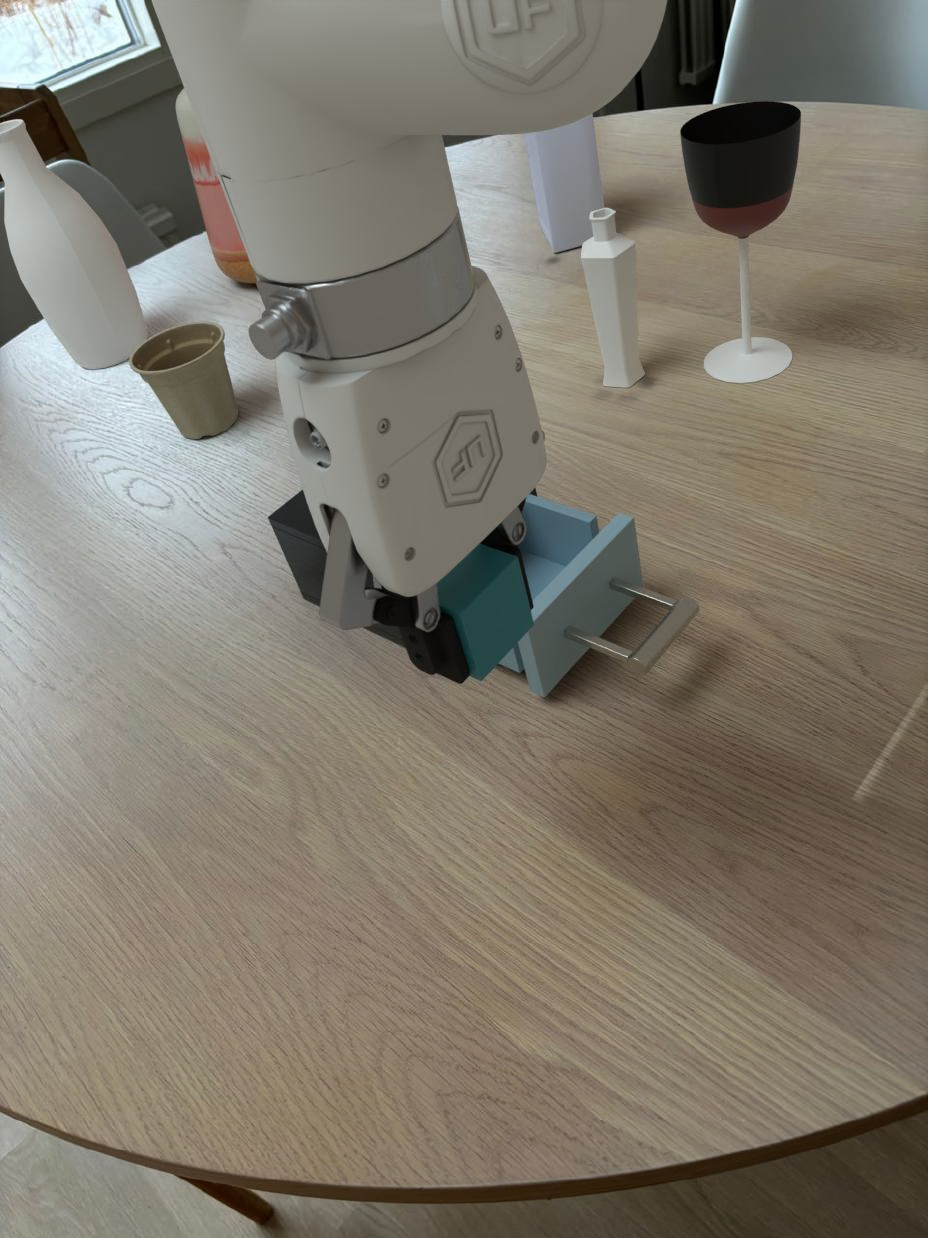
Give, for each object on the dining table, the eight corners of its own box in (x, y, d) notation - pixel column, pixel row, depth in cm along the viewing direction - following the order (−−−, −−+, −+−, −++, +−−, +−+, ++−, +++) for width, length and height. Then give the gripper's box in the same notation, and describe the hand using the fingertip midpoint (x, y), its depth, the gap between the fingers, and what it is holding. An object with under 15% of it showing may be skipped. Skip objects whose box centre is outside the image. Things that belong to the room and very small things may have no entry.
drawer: (724, 617, 66) (720, 543, 62) (626, 736, 61) (614, 664, 56) (494, 534, 77) (477, 467, 73) (394, 627, 72) (370, 561, 68)
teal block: (535, 625, 49) (518, 556, 46) (481, 682, 47) (460, 614, 44) (468, 598, 51) (449, 531, 48) (415, 652, 49) (391, 585, 46)
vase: (204, 297, 125) (94, 34, 105) (256, 244, 134) (164, -8, 115) (306, 291, 120) (211, 12, 100) (352, 236, 129) (273, -30, 109)
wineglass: (705, 336, 93) (690, 108, 80) (804, 334, 90) (806, 95, 76) (689, 384, 88) (670, 149, 75) (793, 383, 85) (794, 136, 71)
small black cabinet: (550, 556, 75) (531, 468, 70) (441, 665, 70) (411, 578, 64) (410, 505, 84) (384, 423, 79) (303, 599, 78) (267, 517, 73)
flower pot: (193, 397, 107) (159, 322, 101) (271, 395, 103) (240, 317, 97) (149, 449, 100) (110, 373, 95) (229, 449, 97) (194, 370, 91)
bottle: (56, 383, 116) (-69, 158, 99) (82, 337, 125) (-30, 122, 108) (147, 364, 115) (36, 132, 98) (167, 318, 123) (67, 97, 106)
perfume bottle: (586, 378, 92) (561, 217, 82) (626, 358, 93) (606, 197, 83) (614, 397, 89) (592, 232, 79) (655, 376, 90) (638, 211, 80)
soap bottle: (533, 227, 119) (494, 9, 104) (591, 211, 119) (561, -10, 103) (547, 257, 112) (509, 29, 97) (609, 240, 112) (580, 9, 97)
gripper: (271, 430, 31) (420, 792, 43) (585, 190, 38) (635, 553, 51) (130, 385, 35) (302, 726, 47) (438, 178, 43) (517, 516, 55)
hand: (474, 633), depth 49 cm, fingers closed on teal block, 4 cm apart
